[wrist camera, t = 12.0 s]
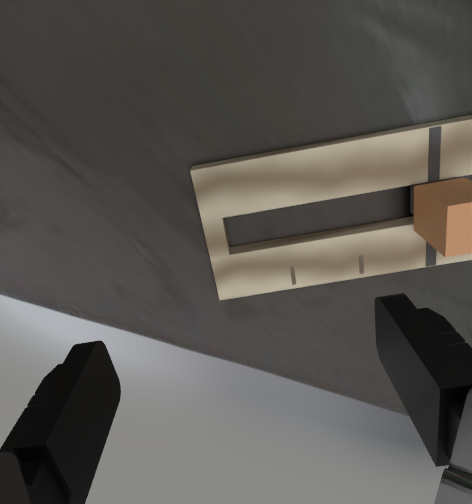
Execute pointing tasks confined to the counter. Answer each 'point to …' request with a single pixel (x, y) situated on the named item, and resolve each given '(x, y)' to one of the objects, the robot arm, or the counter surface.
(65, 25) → the counter surface
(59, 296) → the counter surface
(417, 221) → the fader knob
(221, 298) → the board
